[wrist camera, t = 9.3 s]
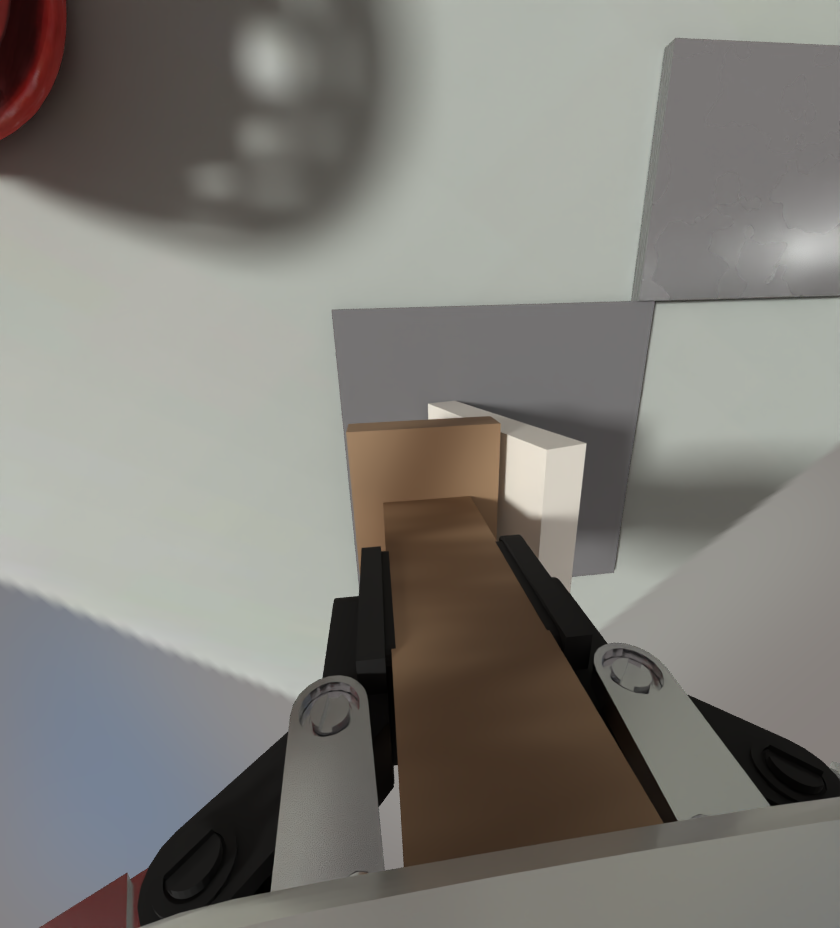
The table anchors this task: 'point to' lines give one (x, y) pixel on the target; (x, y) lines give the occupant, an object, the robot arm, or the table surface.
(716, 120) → the plate
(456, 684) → the wooden post stand
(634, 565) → the table surface
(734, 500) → the table surface
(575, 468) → the tile
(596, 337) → the mat
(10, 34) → the plant pot
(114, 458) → the table surface
